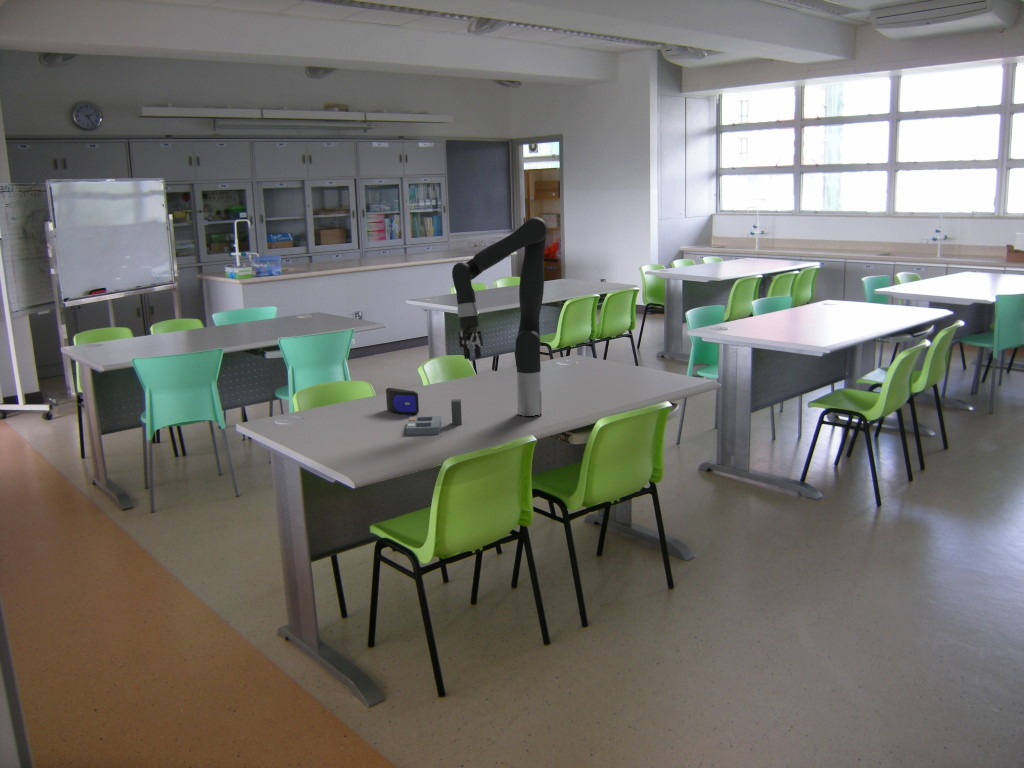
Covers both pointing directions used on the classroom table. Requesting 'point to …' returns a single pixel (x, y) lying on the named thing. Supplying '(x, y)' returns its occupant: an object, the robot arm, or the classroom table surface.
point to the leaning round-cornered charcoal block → (402, 401)
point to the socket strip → (423, 425)
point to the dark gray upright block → (456, 412)
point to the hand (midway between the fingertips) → (473, 358)
